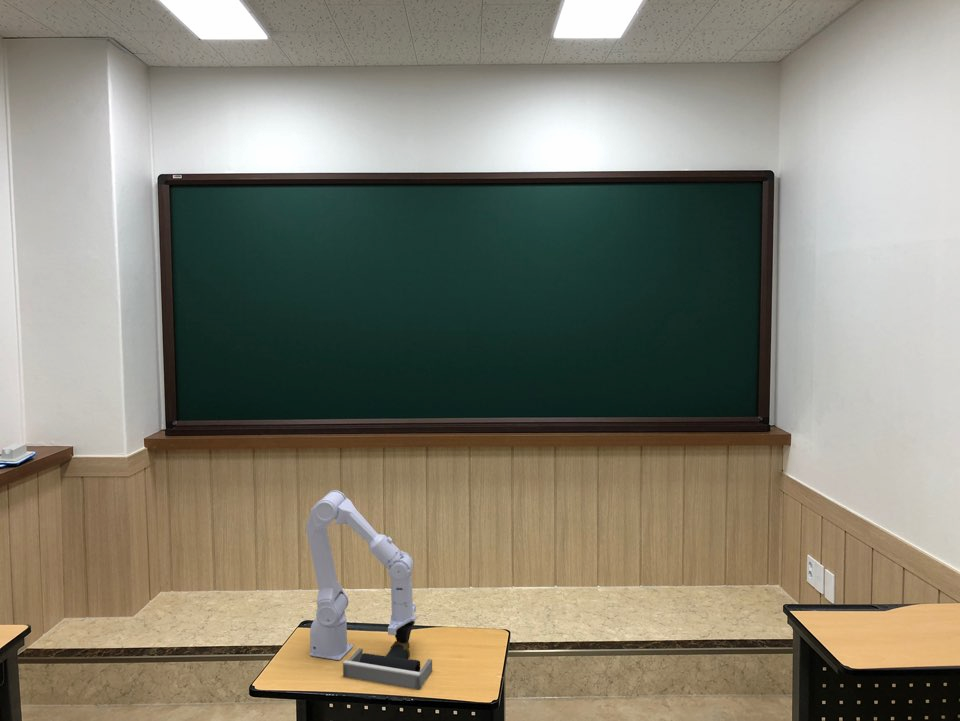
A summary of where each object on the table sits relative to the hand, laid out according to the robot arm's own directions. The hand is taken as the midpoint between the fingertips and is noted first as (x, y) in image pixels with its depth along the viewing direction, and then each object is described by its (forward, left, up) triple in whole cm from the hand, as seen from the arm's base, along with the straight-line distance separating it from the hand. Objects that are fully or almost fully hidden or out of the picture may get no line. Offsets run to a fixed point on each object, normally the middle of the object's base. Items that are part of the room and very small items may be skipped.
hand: (403, 648), depth 182 cm
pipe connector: (+1, -7, -2) cm, 8 cm away
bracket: (0, -10, -2) cm, 10 cm away
